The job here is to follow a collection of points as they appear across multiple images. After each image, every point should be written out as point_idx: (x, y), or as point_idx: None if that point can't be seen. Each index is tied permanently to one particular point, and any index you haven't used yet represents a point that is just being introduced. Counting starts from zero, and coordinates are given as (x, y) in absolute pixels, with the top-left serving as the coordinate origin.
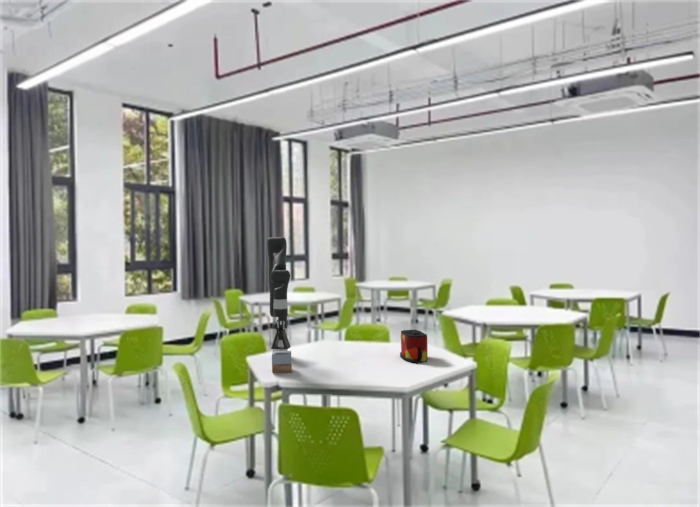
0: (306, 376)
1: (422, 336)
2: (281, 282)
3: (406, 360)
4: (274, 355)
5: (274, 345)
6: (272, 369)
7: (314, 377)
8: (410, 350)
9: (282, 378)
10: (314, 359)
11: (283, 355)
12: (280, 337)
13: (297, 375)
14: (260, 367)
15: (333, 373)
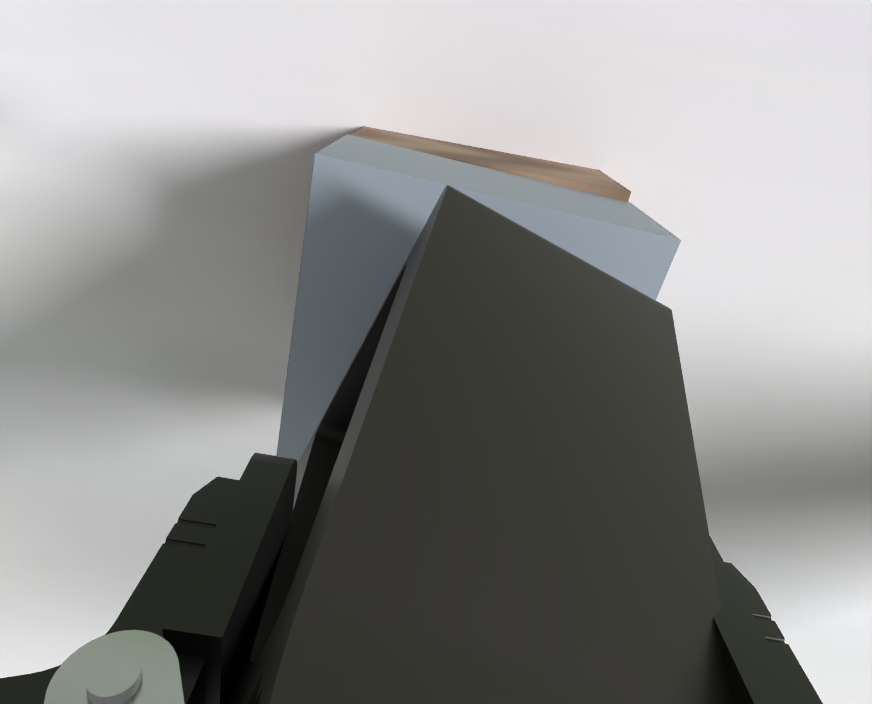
0: (140, 428)
1: None
2: None
3: None
4: (312, 202)
5: (403, 280)
6: (354, 133)
7: (89, 476)
8: None
9: (81, 192)
10: (835, 641)
11: (294, 349)
12: (195, 535)
13: (200, 366)
14: (823, 35)
15: None
